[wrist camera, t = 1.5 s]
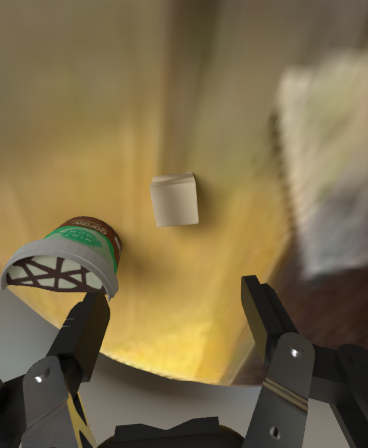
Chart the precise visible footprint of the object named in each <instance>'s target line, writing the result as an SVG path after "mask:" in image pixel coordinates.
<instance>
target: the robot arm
mask: <svg viewBox="0 0 368 448" xmlns="http://www.w3.org/2000/svg"><path fill="white" fill-rule="evenodd" d="M241 302H242V306H243V309H244V312H245V315H246V318H247V320H248V323H249V326H250V329H251V332H252V335H253V337H254V340H255V343H256V346H257V349H258V352H259V355H260V357H261V360H262V363H263V366H266V365H270V368H269V371H268V374H267V377H266V380H265V381H264V382H263V385H262V388H261V391H260V394H259V397H258V400H257V403H256V407H255V409H254V412H253V415H252V418H251V421H250V425H249V427H248V430H247V434H246V436H245V438H244V437H242V436H241V435H240V434H239V433H237V432H236V431H234V430H232V429H231V428H228V427H226V426H223V425H219V420H218V417H206V418H196V419H191V420H189V421H187V422H184V423H182V424H180V425H178V426H176V427H173V428H171V429H168V430H163V429H159V428H155V427H152V426H148V425H144V424H131V425H121V426H116V429H115V434H114V436H112V437H110V438H108V439H107V440H105V441H104V442H103V443H101V444H100V445H99V446H98V445H97V443H96V440H95V438H94V436H93V434H92V431H91V429H90V426H89V423H88V419H87V417H86V413H85V410H84V407H83V404H82V400H81V397H80V394H79V392H78V389H79V386H80V383H81V382H89V381H90V379H91V375H92V372H93V369H94V366H95V363H96V360H97V356H98V354H99V351H100V348H101V345H102V341H103V338H104V335H105V332H106V329H107V326H108V323H109V320H110V308H109V306H108V303H107V300H106V297H105V295H104V292H103V291H102V290H99V291H90V292H87V294H86V296H85V298H84V300H83V301H82V302H78V303H77V304H76V305H75V306H74V307H73V308H72V309H71V311H70V313H69V314H68V316H67V318H66V320H65V322H64V324H63V327H62V328H61V329H60V331H59V333H58V335H57V337H56V339H55V341H54V342H53V344H52V346H51V348H50V350H49V352H48V353H47V355H46V357H44V358H42V359H40V360H38V361H37V362H36V363H34V364H33V365H32V366H31V367H30V369H29V370H28V371H27V372H26V374H24V375H22V376H19V377H17V378H14V379H12V380H9V381H7V382H4V383H3V382H2V381H1V379H0V448H19V445H20V443H21V446H22V448H302V444H303V438H304V431H305V425H306V418H307V412H308V405H307V404H308V398H312V399H315V400H319V401H322V402H326V403H329V404H330V407H331V409H332V411H333V413H334V415H335V417H336V419H337V421H338V423H339V425H340V427H341V430H342V432H343V434H344V436H345V438H346V440H347V442H348V444H349V446H350V448H368V351H367V350H366V349H364V348H362V347H360V346H357V345H354V344H344V345H341V346H340V347H339V349H338V350H334V349H329V348H324V347H320V346H316V345H314V344H312V343H310V342H309V340H307V339H306V338H305V337H303V336H302V335H300V334H299V333H298V331H297V330H296V328H295V326H294V324H293V322H292V321H291V319H290V317H289V315H288V314H287V312H286V310H285V308H284V307H283V306H282V303H281V301H280V299H279V298H278V296H277V294H276V292H275V291H274V289H272V288H271V287H270V286H269V285H268V284H267V283H265V284H260V283H259V281H258V279H257V277H256V275H250V276H242V278H241ZM26 429H27V430H26Z"/></svg>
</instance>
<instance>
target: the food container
mask: <svg viewBox="0 0 368 448" xmlns="http://www.w3.org/2000/svg"><path fill="white" fill-rule="evenodd" d="M120 254H121V243H120V240H119V237H118V235H117V234H116V233H115V231H114V230H113V229H112V228H111V227H110V226H109V225H107V224H106V223H105V222H103V221H101V220H99V219H96V218H93V217H85V216H82V217H75V218H72V219H70V220H68V221H67V222H65V223H64V224H62V225H61V226H60V227H58V228H57V229H56V230H54V231H53V232H51V233H50V234H49V235H47V236H46V237H45V238H43V239H41V240H36V241H32V242H30V243H27V244H25V245H24V246H22V247H20V248H19V249H18V250H17V251H16V252H15V253H14V254H13V256H12V257H11V258H10V260H9V261H8V263H7V264H6V266H5V267H4V270H3V273H2V276H1V279H0V289H1V291H2V290H4V289H5V288H6V287H7V286H8V285H15V286H18V285H20V286H30V287H37V288H41V289H46V290H50V291H55V292H90V291H99V290H102V291H103V292H104V294H106V295H108V301H109V302H110V299H111V297H112V298H113V297H114V296H115V294H116V293H117V291H118V289H119V288H118V281H117V277H116V272H117V268H118V263H119V258H120Z"/></svg>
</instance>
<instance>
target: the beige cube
mask: <svg viewBox="0 0 368 448" xmlns="http://www.w3.org/2000/svg"><path fill="white" fill-rule="evenodd" d="M150 192H151V198H152V203H153V209H154V214H155V219H156V225H157V228H160V227H169V226H178V225H188V224H197V223H199V222H198V209H197V197H196V184H195V180H194V176H193V172H186V173H177V174H168V175H159V176H154V177H153V180H152V183H151V185H150Z"/></svg>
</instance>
